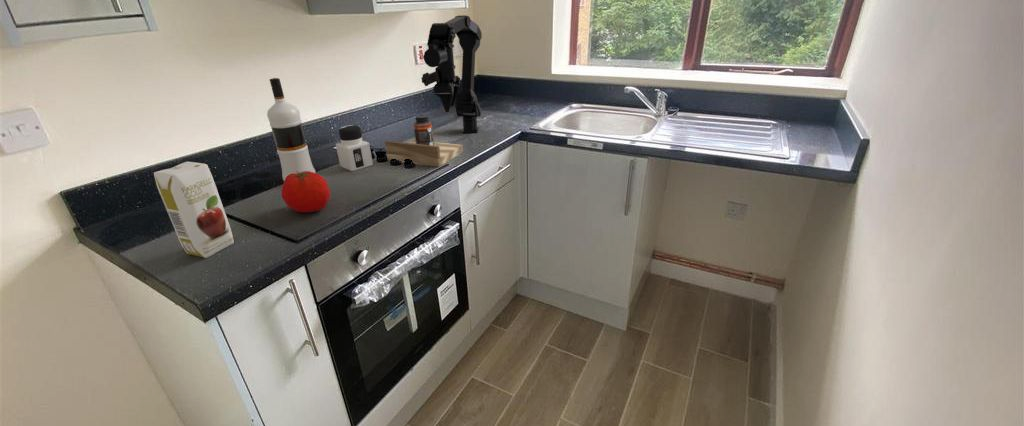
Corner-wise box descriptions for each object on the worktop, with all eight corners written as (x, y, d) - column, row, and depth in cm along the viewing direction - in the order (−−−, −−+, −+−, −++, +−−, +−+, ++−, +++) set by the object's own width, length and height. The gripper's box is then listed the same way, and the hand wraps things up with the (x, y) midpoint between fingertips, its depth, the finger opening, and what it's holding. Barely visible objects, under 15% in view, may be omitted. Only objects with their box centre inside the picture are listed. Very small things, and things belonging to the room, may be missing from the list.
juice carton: (180, 255, 96) (146, 173, 87) (216, 237, 103) (188, 159, 94) (205, 261, 93) (171, 177, 85) (240, 241, 100) (213, 162, 92)
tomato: (309, 197, 122) (300, 162, 118) (344, 204, 117) (336, 168, 113) (274, 214, 113) (263, 177, 109) (310, 222, 108) (300, 184, 104)
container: (373, 165, 145) (366, 126, 139) (351, 171, 140) (343, 131, 134) (361, 160, 150) (354, 122, 144) (339, 166, 145) (331, 127, 139)
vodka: (278, 186, 131) (248, 81, 117) (292, 174, 139) (266, 76, 126) (309, 185, 130) (282, 80, 117) (321, 173, 139) (298, 75, 126)
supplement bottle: (437, 149, 149) (433, 116, 145) (420, 152, 147) (416, 119, 142) (430, 145, 154) (427, 112, 149) (414, 148, 151) (410, 115, 147)
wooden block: (414, 146, 162) (412, 129, 159) (463, 151, 154) (461, 133, 152) (387, 160, 148) (384, 141, 146) (439, 166, 141) (437, 147, 138)
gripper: (428, 60, 159) (432, 103, 166) (415, 67, 142) (421, 115, 149) (458, 59, 158) (462, 103, 165) (449, 66, 142) (453, 115, 148)
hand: (449, 109), depth 157 cm, fingers open, 9 cm apart
